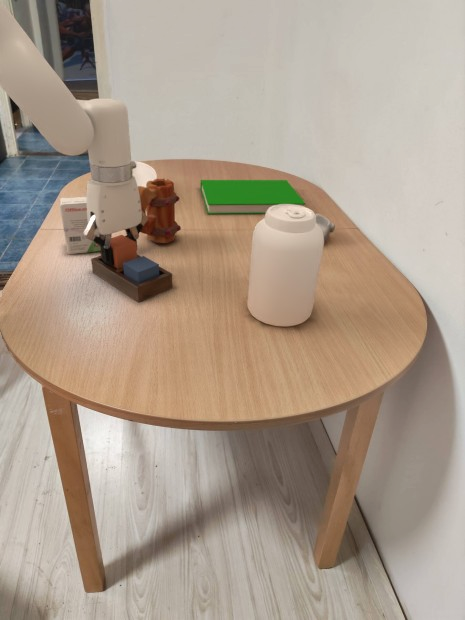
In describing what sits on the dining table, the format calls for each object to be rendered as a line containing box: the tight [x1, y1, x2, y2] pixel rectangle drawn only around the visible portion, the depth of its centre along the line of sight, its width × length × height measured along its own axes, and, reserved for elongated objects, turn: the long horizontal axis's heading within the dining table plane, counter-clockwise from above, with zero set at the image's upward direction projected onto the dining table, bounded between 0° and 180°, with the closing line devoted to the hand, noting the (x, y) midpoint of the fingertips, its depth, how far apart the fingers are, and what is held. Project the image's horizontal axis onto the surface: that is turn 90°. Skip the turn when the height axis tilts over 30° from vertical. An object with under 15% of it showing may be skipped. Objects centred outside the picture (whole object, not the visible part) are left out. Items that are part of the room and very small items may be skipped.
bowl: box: [132, 160, 158, 187], centre depth 136 cm, size 30×15×6 cm, turn 11°
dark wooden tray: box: [90, 253, 173, 303], centre depth 93 cm, size 8×16×3 cm, turn 46°
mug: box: [138, 178, 182, 244], centre depth 106 cm, size 15×8×15 cm, turn 152°
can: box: [246, 204, 325, 327], centre depth 82 cm, size 12×12×20 cm
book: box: [200, 179, 306, 215], centre depth 138 cm, size 22×28×3 cm
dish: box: [315, 213, 336, 243], centre depth 115 cm, size 14×14×5 cm
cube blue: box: [123, 255, 160, 284], centre depth 90 cm, size 5×5×4 cm
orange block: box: [110, 234, 138, 269], centre depth 93 cm, size 5×5×4 cm
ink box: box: [59, 196, 101, 255], centre depth 102 cm, size 8×5×12 cm, turn 109°
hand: (120, 258), depth 94 cm, fingers closed on orange block, 4 cm apart
